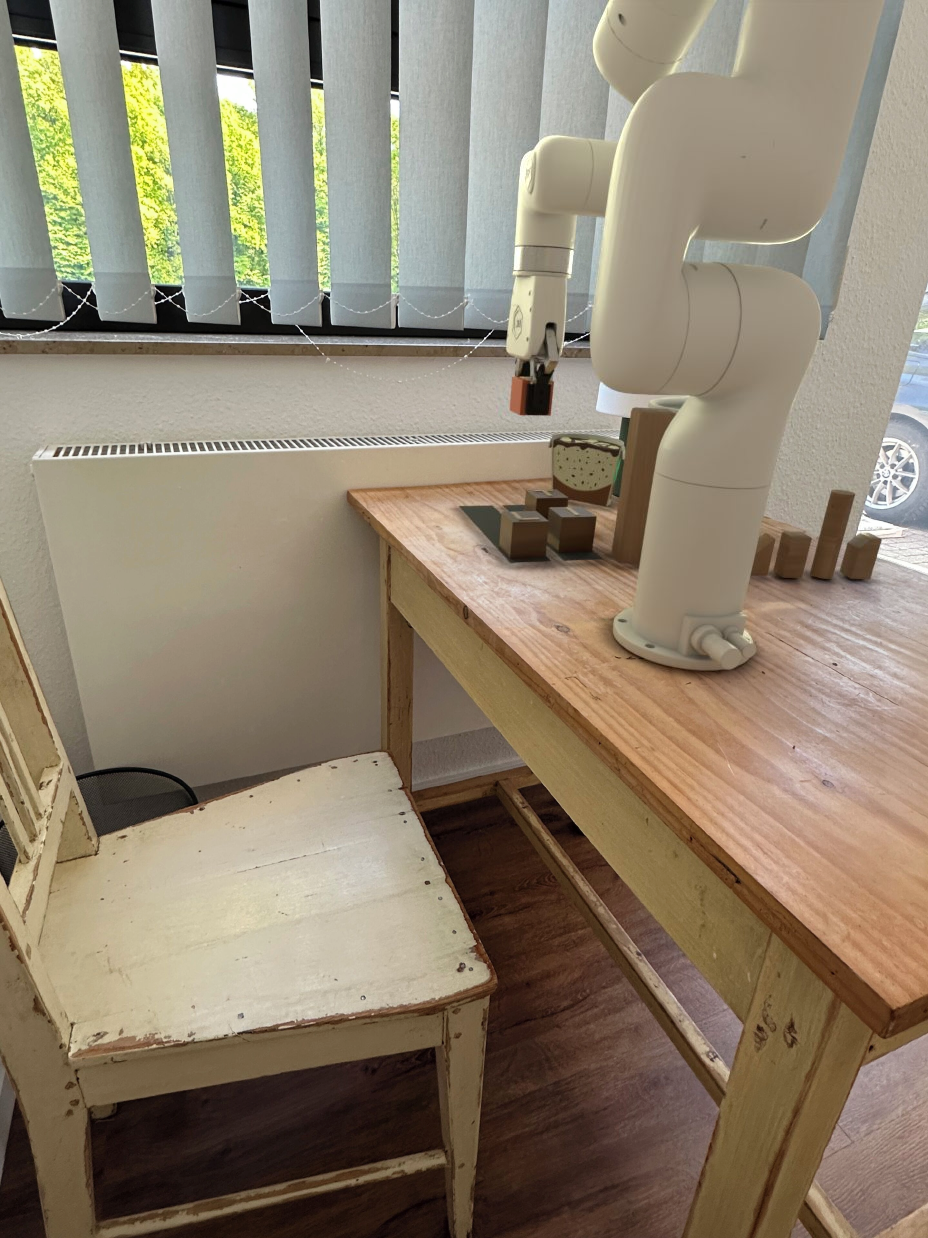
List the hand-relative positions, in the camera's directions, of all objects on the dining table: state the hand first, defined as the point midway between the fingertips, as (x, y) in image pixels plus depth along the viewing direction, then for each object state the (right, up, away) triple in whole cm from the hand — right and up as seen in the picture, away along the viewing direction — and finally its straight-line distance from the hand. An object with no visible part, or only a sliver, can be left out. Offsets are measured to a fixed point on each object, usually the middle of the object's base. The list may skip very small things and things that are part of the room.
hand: (530, 410), depth 99 cm
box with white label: (-2, -21, -12) cm, 24 cm away
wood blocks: (+27, -24, -14) cm, 38 cm away
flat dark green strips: (-1, -17, -3) cm, 18 cm away
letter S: (0, 0, 0) cm, 0 cm away
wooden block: (+14, -22, -11) cm, 28 cm away
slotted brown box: (+4, -20, -9) cm, 22 cm away
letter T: (+2, -16, -1) cm, 16 cm away
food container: (+10, -10, +15) cm, 21 cm away
